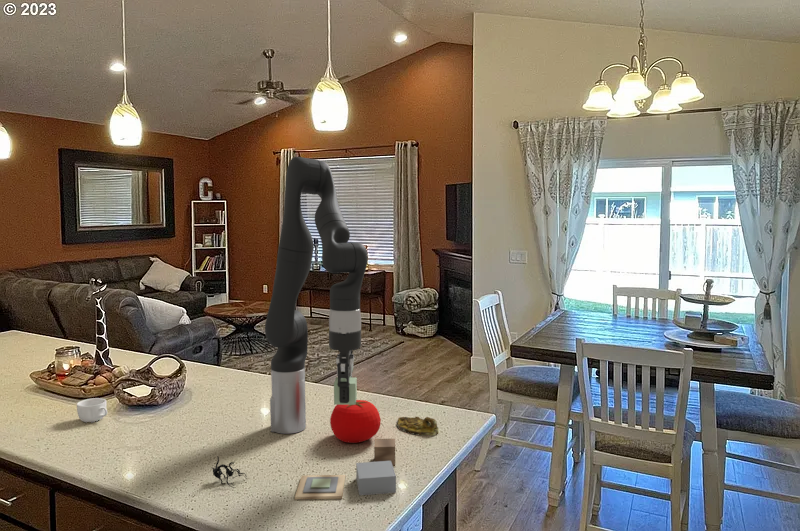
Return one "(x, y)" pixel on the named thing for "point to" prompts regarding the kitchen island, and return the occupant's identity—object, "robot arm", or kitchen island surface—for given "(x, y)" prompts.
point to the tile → (321, 487)
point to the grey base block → (375, 477)
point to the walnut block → (384, 450)
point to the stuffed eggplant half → (418, 425)
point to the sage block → (351, 391)
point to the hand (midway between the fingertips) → (345, 398)
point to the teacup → (92, 409)
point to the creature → (229, 473)
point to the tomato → (355, 421)
